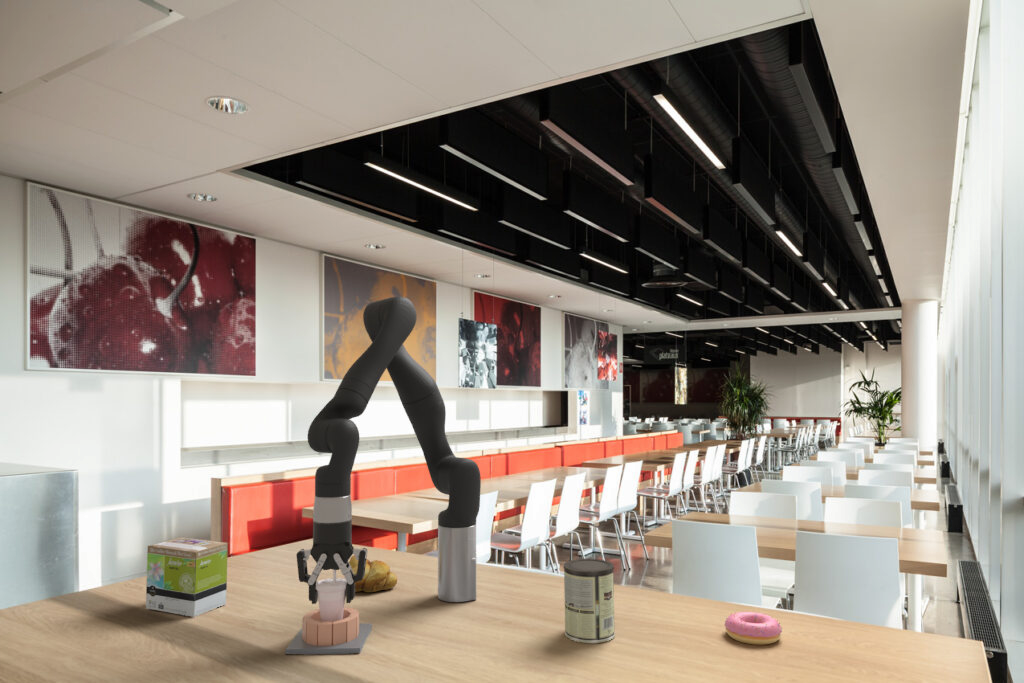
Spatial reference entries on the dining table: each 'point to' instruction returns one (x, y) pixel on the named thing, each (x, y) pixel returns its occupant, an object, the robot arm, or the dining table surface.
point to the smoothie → (331, 598)
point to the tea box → (186, 576)
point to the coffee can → (589, 600)
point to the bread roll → (374, 576)
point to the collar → (330, 634)
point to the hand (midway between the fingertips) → (331, 602)
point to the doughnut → (753, 628)
